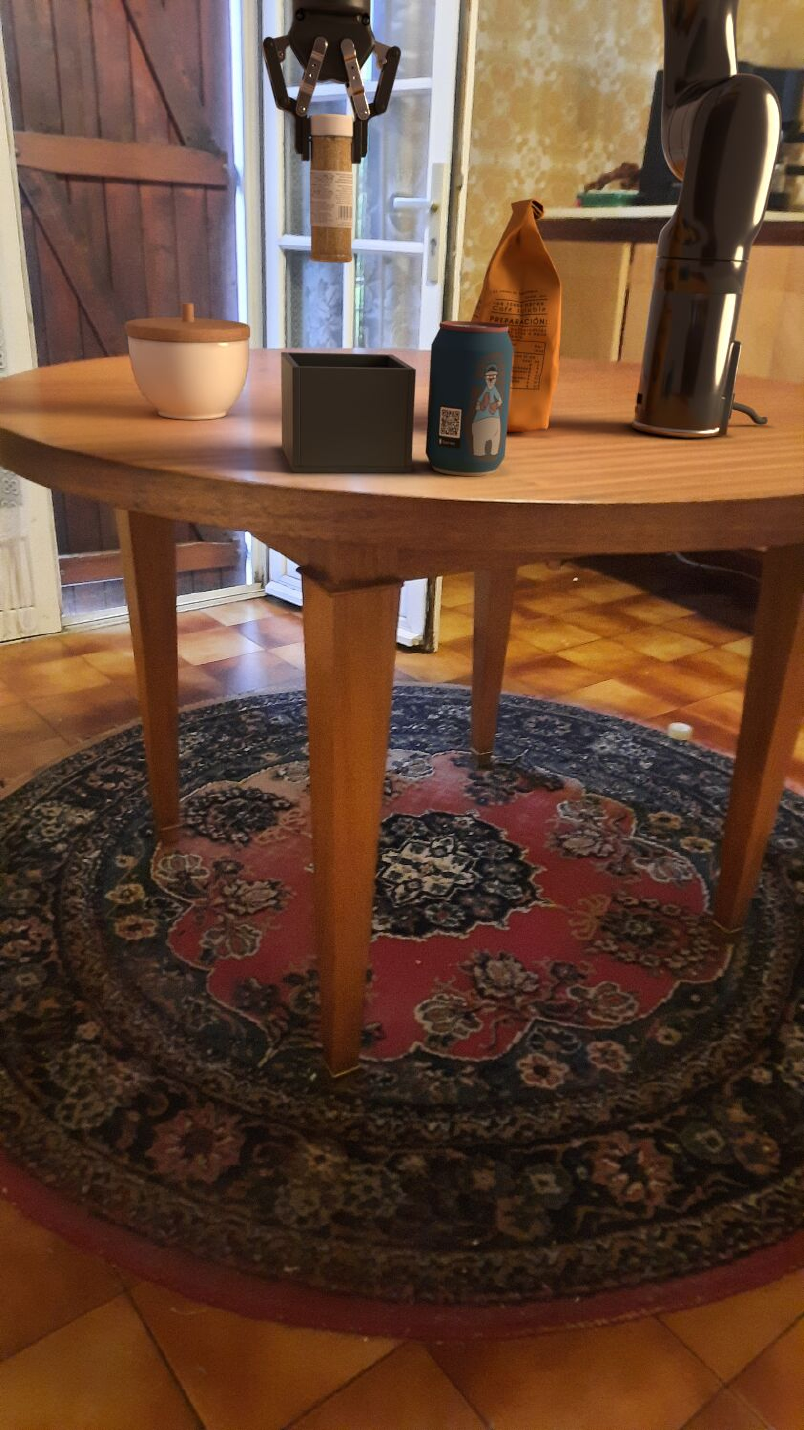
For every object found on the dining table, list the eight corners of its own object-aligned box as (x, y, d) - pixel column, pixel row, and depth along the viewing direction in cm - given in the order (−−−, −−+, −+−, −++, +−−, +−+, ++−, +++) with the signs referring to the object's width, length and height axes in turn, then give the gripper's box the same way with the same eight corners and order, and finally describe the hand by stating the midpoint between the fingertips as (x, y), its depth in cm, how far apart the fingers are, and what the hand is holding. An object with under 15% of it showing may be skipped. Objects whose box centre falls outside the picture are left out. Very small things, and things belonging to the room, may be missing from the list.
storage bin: (389, 448, 97) (392, 354, 93) (411, 472, 88) (416, 369, 84) (281, 448, 95) (280, 352, 91) (293, 473, 86) (292, 367, 82)
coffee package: (546, 419, 115) (568, 202, 106) (554, 440, 104) (580, 199, 95) (458, 414, 116) (473, 198, 106) (457, 434, 105) (473, 194, 95)
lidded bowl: (127, 405, 112) (119, 297, 108) (241, 404, 116) (238, 300, 111) (136, 425, 102) (128, 307, 97) (261, 424, 105) (259, 309, 101)
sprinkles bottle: (335, 261, 110) (336, 118, 105) (361, 263, 107) (363, 116, 101) (300, 261, 108) (299, 114, 102) (325, 263, 105) (325, 112, 99)
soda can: (447, 457, 94) (456, 318, 89) (516, 468, 91) (529, 325, 86) (410, 469, 89) (417, 322, 83) (482, 481, 86) (493, 330, 80)
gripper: (258, -59, 91) (263, 157, 99) (413, -45, 94) (407, 164, 102) (252, -41, 98) (257, 161, 105) (398, -28, 101) (393, 167, 108)
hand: (331, 161), depth 103 cm, fingers closed on sprinkles bottle, 4 cm apart
